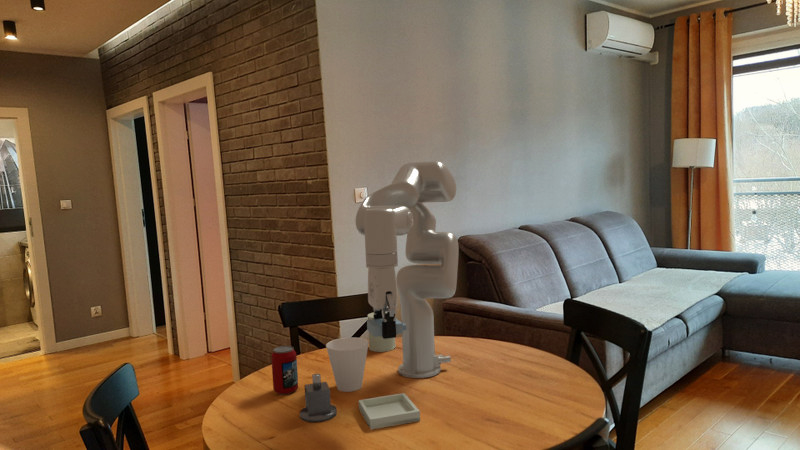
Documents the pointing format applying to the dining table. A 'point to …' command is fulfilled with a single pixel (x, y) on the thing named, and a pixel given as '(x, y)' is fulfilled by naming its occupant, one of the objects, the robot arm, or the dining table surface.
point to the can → (380, 341)
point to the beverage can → (284, 370)
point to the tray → (388, 411)
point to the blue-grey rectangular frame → (376, 327)
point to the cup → (348, 362)
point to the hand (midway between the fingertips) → (384, 333)
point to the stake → (317, 402)
